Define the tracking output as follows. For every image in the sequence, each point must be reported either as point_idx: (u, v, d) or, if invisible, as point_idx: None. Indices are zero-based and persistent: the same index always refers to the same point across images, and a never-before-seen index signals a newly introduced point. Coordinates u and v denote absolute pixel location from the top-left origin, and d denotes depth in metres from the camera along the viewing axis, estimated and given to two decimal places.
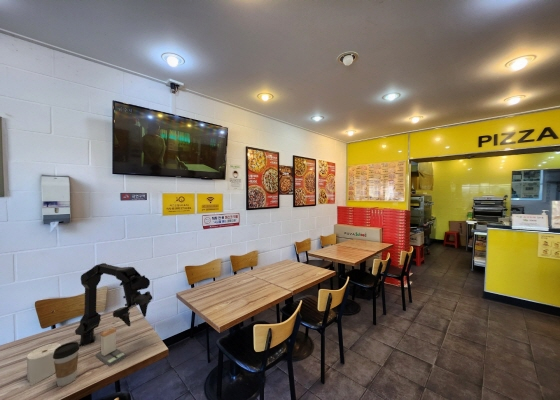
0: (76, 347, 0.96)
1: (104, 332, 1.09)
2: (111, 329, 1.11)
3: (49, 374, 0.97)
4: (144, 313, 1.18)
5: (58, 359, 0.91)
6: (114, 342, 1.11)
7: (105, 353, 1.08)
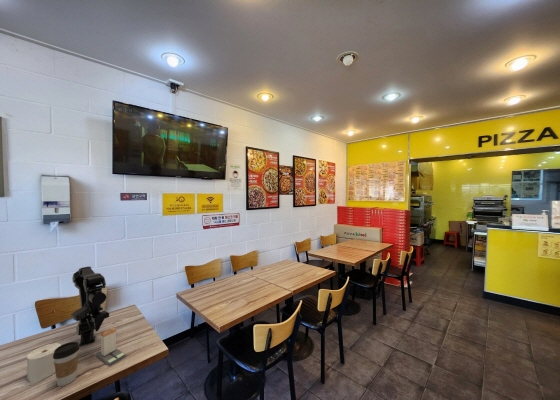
0: (76, 347, 0.96)
1: (104, 332, 1.09)
2: (111, 329, 1.11)
3: (49, 374, 0.97)
4: None
5: (58, 359, 0.91)
6: (114, 342, 1.11)
7: (105, 353, 1.08)
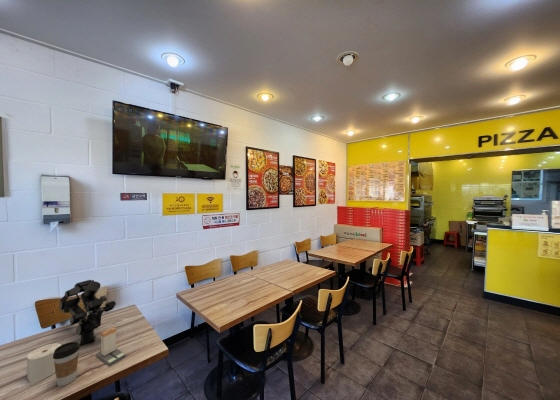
0: (76, 347, 0.96)
1: (104, 332, 1.09)
2: (111, 329, 1.11)
3: (49, 374, 0.97)
4: (98, 322, 1.16)
5: (58, 359, 0.91)
6: (114, 342, 1.11)
7: (105, 353, 1.08)
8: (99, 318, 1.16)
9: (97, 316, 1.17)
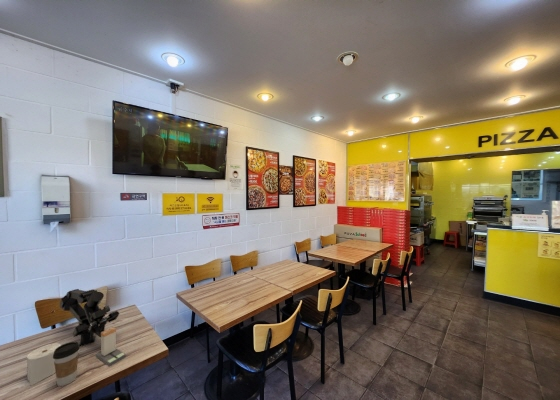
0: (76, 347, 0.96)
1: (104, 332, 1.09)
2: (111, 329, 1.11)
3: (49, 374, 0.97)
4: None
5: (58, 359, 0.91)
6: (114, 342, 1.11)
7: (105, 353, 1.08)
8: (102, 329, 1.15)
9: (100, 327, 1.15)
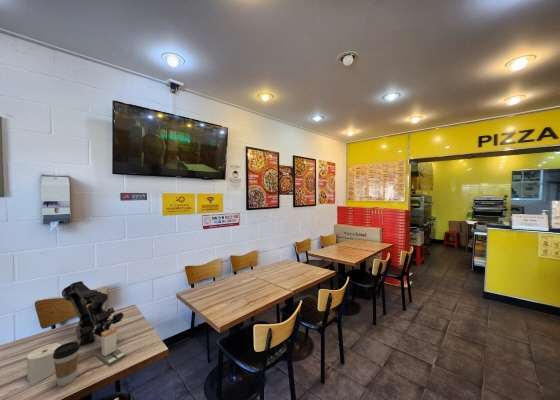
0: (76, 347, 0.96)
1: (105, 332, 1.08)
2: (112, 329, 1.11)
3: (49, 374, 0.97)
4: None
5: (58, 359, 0.91)
6: (115, 342, 1.11)
7: (106, 353, 1.08)
8: None
9: (105, 329, 1.13)
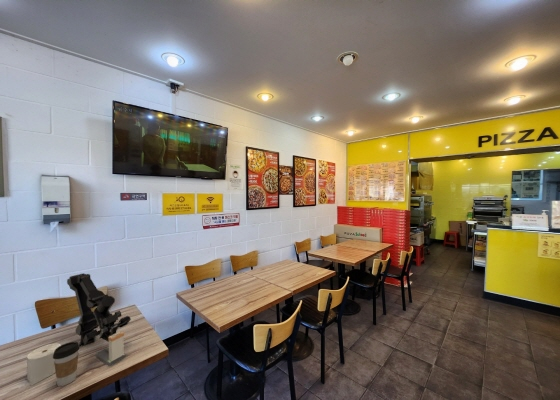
0: (76, 347, 0.96)
1: (112, 336, 1.05)
2: (119, 333, 1.08)
3: (49, 374, 0.97)
4: None
5: (58, 359, 0.91)
6: (122, 347, 1.08)
7: (113, 358, 1.04)
8: None
9: (111, 333, 1.10)
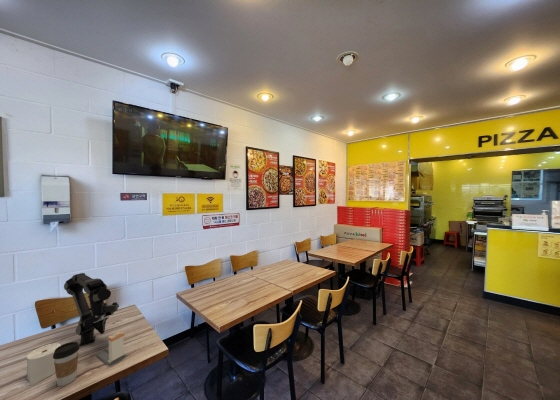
0: (76, 347, 0.96)
1: (112, 336, 1.05)
2: (119, 333, 1.08)
3: (49, 374, 0.97)
4: None
5: (58, 359, 0.91)
6: (122, 347, 1.08)
7: (113, 358, 1.04)
8: (104, 325, 1.15)
9: None
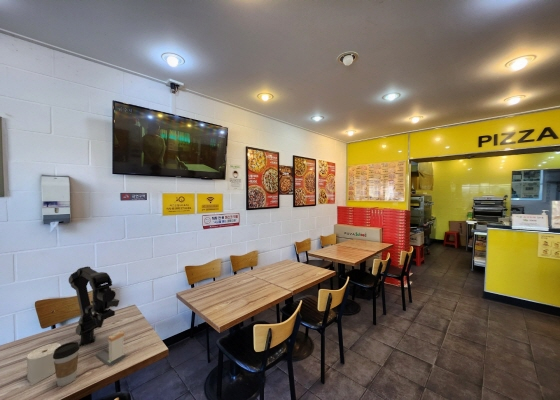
0: (76, 347, 0.96)
1: (112, 336, 1.05)
2: (119, 333, 1.08)
3: (49, 374, 0.97)
4: None
5: (58, 359, 0.91)
6: (122, 347, 1.08)
7: (113, 358, 1.04)
8: None
9: None
